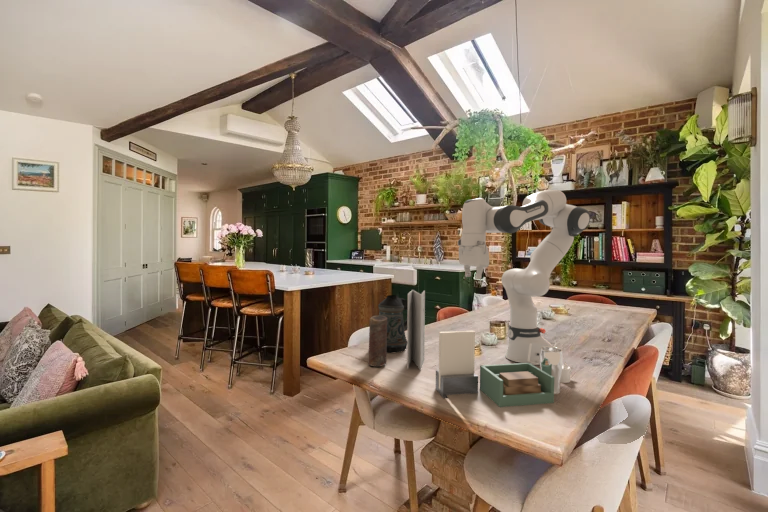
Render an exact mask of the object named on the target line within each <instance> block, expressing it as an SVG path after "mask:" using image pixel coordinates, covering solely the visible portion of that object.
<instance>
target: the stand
mask: <svg viewBox="0 0 768 512" xmlns="http://www.w3.org/2000/svg"><path fill="white" fill-rule="evenodd" d="M435 390H436V392H437V393H439V395H440V396H441V397H442V399H449V397H448V396H451V395H453V396H454V395H468V394H479V375H478V374H476V373H474V374H460V375H443V376H441V390H440V389H439V369H436V370H435Z"/></svg>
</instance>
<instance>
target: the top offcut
mask: <svg viewBox="0 0 768 512" xmlns="http://www.w3.org/2000/svg"><path fill="white" fill-rule="evenodd" d="M499 378H501V379H502V380H503V384H505V385H506V386H507V387H522V386H537V385H538V377H536V376H534V375H533V374H531V373H530V372H528V371H524V372H507V373H499Z"/></svg>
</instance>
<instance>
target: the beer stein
mask: <svg viewBox="0 0 768 512" xmlns="http://www.w3.org/2000/svg"><path fill="white" fill-rule="evenodd" d="M377 306H378V310H379V313H378V316H380V315H382V316H385V317H387V352H386V354H389V353H390V354H392V353H391V352H396V353H401V351H402V352H403V351H406V350H407V335H406V330H407V319H405V321H404V314H403V311H408V299H405V298H403V297H399V296H398V295H396V294H393V295H392V294H391V295H387V296H386V297H385V298H384V299H383V300H382V301H381V302H379V304H378V305H377ZM405 349H406V350H405Z"/></svg>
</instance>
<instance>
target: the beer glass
mask: <svg viewBox="0 0 768 512" xmlns="http://www.w3.org/2000/svg"><path fill="white" fill-rule="evenodd" d="M563 357H564V356H563V348H560V347H556V346H553V347H550V346H545V347H541V353H540V365H539V369H541V370H543V371H544V372H546V373H548V374H550V375H551V376H553V377H554V395H558V394H560V393H561V388H560V383H561V382H560V377H561V373H562V367H563V365H564V363H563V362H564V359H563Z"/></svg>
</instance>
